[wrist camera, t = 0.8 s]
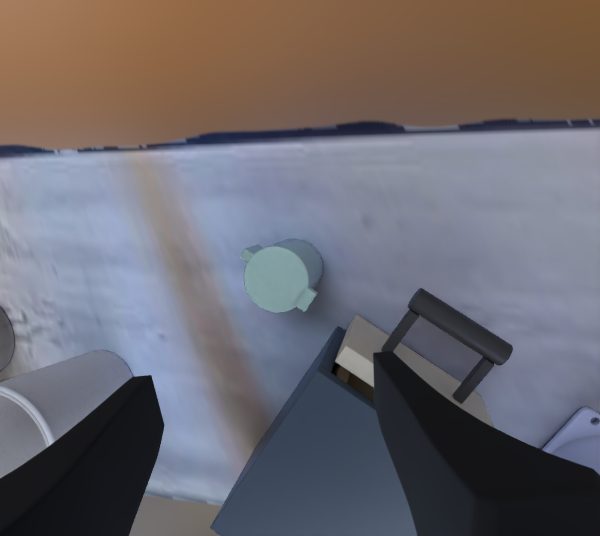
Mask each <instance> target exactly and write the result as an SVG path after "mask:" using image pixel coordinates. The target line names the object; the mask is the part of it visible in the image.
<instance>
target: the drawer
mask: <svg viewBox="0 0 600 536" xmlns="http://www.w3.org/2000/svg"><path fill="white" fill-rule="evenodd" d="M408 308H409V310H408V312H407V313H406V314H405V316H404V317H403V319H402V320H401V321H400V323H399V324H398V326H397V327H396V328H395V330H394V331H393V332H392V334H391V335H390V336H389V335H388V334H386V333H385V332H383V331H382V330H380V329H379V328H377V327H376V326H374V325H373V324H371V323H370V322H368V321H366V320H365V319H363V318H362V317H360V316H359V315H356V316H355V318H354V319H353V321H352V322H351V324H350V325H349V326H348V329H347V331H346V334H345V336H344V339H343V342H342V344H341V347H340V349H339V352H338V355H337V357H336V360H335V362H336V364H335V365H334V367H333V369H332V372H331V373H332V374H334V375H335V376H336V377H338V378H339V379H341V380H342V381H344V382H345V383H347V384H348V385H350V386H351V387H353V388H354V389H356V390H357V391H359V392H360V393H362V394H363V395H364V396H366V397H367V398H369V399H370V400H372V401H373V402H374V369H373V353H376V352H385V351H393V352H394V353H395V354H396V355H397V356H398V357H399V358H400V359H401V360H402V361H403V362H405V363H406V364H407V365H408V366H409V367H410V368H411V369H412V370H413V371H414V372H415V373H417V374H418V375H419V376H420V377H421V378H422V379H423V380H425V381H426V382H427V383H428V384H429V385H431V386H432V387H433V388H434V389H435V390H437V391H438V392H439V393H441V394H442V395H443V396H445V397H446V398H447V399H449V400H450V401H451V402H453V403H454V404H456V405H457V406H459V407H460V408H462V409H463V410H465V411H466V412H468V413H470V414H471V415H473V416H474V417H476V418H478V419H479V420H481V421H483V422H484V423H486V424H488V425H490V426H492V427H494V426H493V423H492V421H491V418H490V416H489V414H488V411H487V409H486V406H485V404H484V401H483V399H482V397H481V395H479V394H478V393H476V392H475V391H473V390H474V389H475V388H476V387H477V385H478V384H479V383H480V382H481V381H482V379H483V378H484V377H485V376H486V375H487V373H488V372H489V371H490V370H491V368H492V367H493V366H494V363H495V364H496V365H502V364H504V363H505V362H506V361H507V360H508V359H509V357H510V355H511V353H512V350H513V347H512V345H511V344H509V343H507V342H506V341H504V340H503V339H501V338H499V337H498V336H496V335H495V334H493V333H492V332H490V331H488V330H487V329H485V328H484V327H482V326H481V325H479V324H477V323H476V322H474V321H473V320H471V319H470V318H468V317H466V316H465V315H463V314H462V313H460V312H459V311H457V310H455V309H454V308H452V307H451V306H449V305H448V304H446V303H444V302H443V301H441V300H440V299H438V298H436V297H435V296H433V295H432V294H430V293H429V292H427V291H425V290H424V289H422V288H420V289H419V290H418V291H417V292H416V293H415V294H414V296H413V297H412V299H411V300H410V302H409V304H408ZM419 315H420V316H422V317H423V318H425V319H426V320H428V321H429V322H431V323H432V324H434V325H436V326H437V327H439V328H440V329H442V330H443V331H445V332H446V333H448V334H450V335H451V336H453V337H454V338H456V339H457V340H459V341H460V342H462V343H463V344H465V345H467V346H468V347H470V348H471V349H473V350H474V351H476V352H477V353H479V354H481V355H482V356H483V357H482V359H481V360H480V361H479V362H478V364H477V365H476V366H475V367H474V369H473V370H472V371H471V372H470V373H469V375H468V376H467V377H466V378H465V380H464V381H463V382H462V383H461V382H460V381H458V380H457V379H455V378H453V377H452V376H450V375H449V374H447V373H446V372H444V371H443V370H441V369H440V368H438V367H437V366H435V365H434V364H432V363H431V362H429V361H428V360H426V359H424V358H423V357H421V356H420V355H418V354H417V353H415V352H414V351H412V350H411V349H409V348H408V347H406V346H405V345H403V344H402V343H400V341H401V340H402V339H403V337H404V336H405V335H406V333H407V332H408V330H409V329H410V328H411V326H412V325H413V324H414V322H415V321H416V320H417V318H418V317H419Z"/></svg>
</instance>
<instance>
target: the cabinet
mask: <svg viewBox="0 0 600 536" xmlns="http://www.w3.org/2000/svg"><path fill="white" fill-rule="evenodd" d="M345 334H346V331H345V330H343V329H342V328H340V327H339V326H338V327H337V328H336V329H335V331H334V332H333V334H332V335H331V337H330V338H329V340H328V341H327V343H326V344H325V346H324V347H323V349H322V350H321V352H320V353H319V355H318V356H317V358H316V359H315V360H314V362H313V363H312V365H311V366H310V368H309V369H308V371H307V372H306V374H305V375H304V377H303V378H302V380H301V381H300V383H299V384H298V386H297V387H296V389H295V390H294V392H293V393H292V395H291V396H290V398H289V399H288V401H287V402H286V404H285V405H284V407H283V408H282V410H281V411H280V413H279V414H278V416H277V417H276V419H275V420H274V422H273V423H272V425H271V426H270V427H269V429H268V430H267V432H266V433H265V435H264V436H263V438H262V439H261V441H260V442H259V444H258V445H257V447H256V448H255V450H254V451H253V453H252V455H251V457H250V458H249V460H248V462H247V464H246V465H245V467H244V469H243V471H242V472H241V474H240V476H239V478H238V479H237V481H236V483H235V485H234V486H233V488H232V490H231V492H230V493H229V495H228V497H227V499H226V500H225V502H224V504H223V506H222V507H221V509H220V511H219V513H218V514H217V516H216V518H215V520H214V522H213V523H212V525H211V527H210V528H211V529H212V530H213V531H215V532H216V533H217V534H219V535H220V536H417V532H416V529H415V525H414V521H413V518H412V514H411V511H410V508H409V505H408V502H407V499H406V496H405V493H404V491H403V488H402V485H401V483H400V480H399V477H398V475H397V472H396V470H395V467H394V464H393V462H392V459H391V457H390V454H389V451H388V449H387V446H386V443H385V441H384V438H383V435H382V432H381V429H380V425H379V421H378V417H377V412H376V408H375V404H374V402H373V401H372V400H370V399H369V398H367V397H366V396H364V395H363V394H362V393H360V392H359V391H357V390H356V389H354V388H353V387H351V386H350V385H348V384H347V383H345V382H344V381H342V380H341V379H339V378H338V377H336V376H335V375H334V374H332V373H331V372H332V369H333V367H334V365H335V364H336V362H335V360H336V357H337V355H338V352H339V349H340V347H341V344H342V342H343V339H344V336H345Z"/></svg>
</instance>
